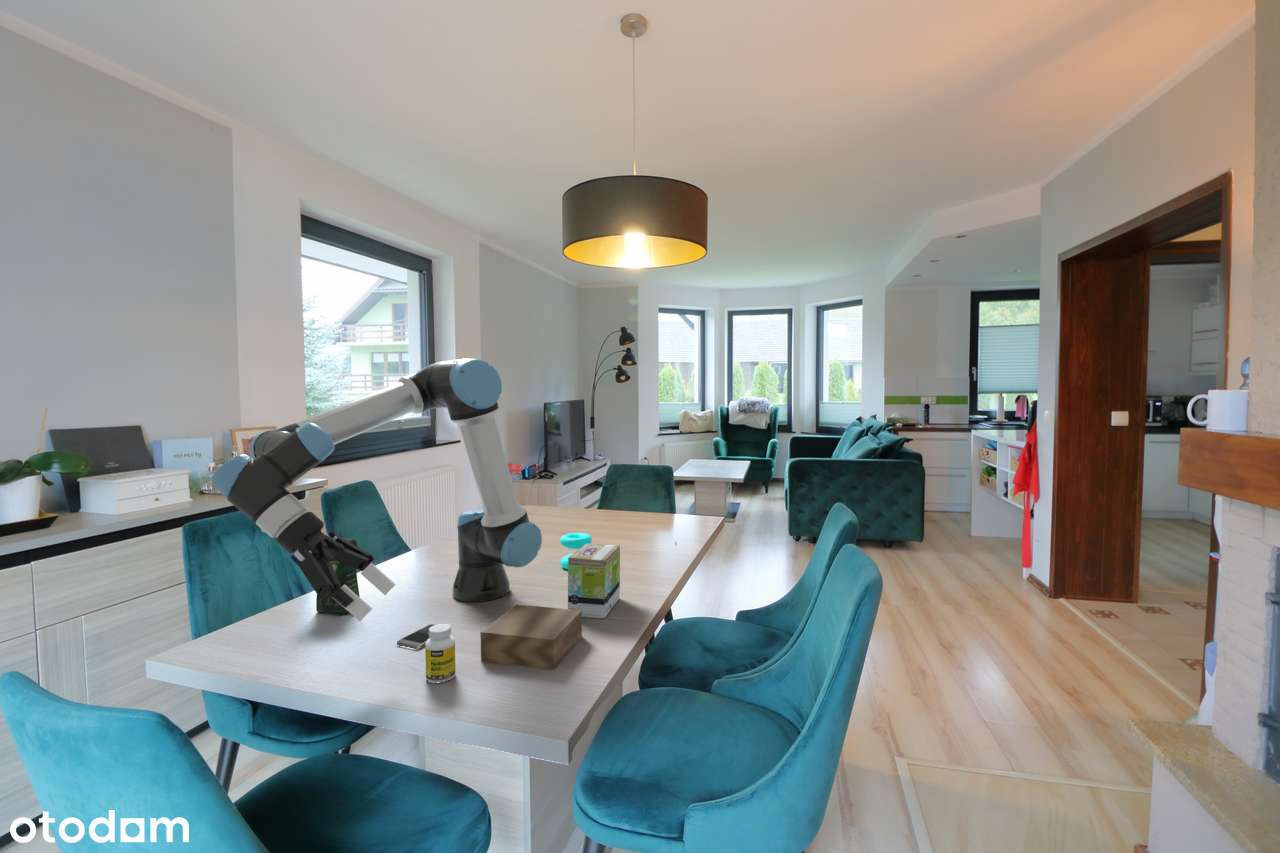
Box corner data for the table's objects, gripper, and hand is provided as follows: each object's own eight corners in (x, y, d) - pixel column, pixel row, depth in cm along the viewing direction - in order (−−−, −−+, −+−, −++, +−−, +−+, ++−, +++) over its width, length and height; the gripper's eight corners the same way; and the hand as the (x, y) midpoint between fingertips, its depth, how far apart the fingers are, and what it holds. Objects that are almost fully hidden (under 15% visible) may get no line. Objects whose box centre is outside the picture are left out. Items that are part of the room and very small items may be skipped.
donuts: (596, 533, 184) (584, 540, 175) (596, 563, 185) (585, 572, 175) (568, 531, 187) (555, 538, 178) (568, 561, 188) (555, 570, 178)
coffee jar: (365, 605, 148) (363, 535, 147) (344, 617, 140) (342, 542, 139) (332, 603, 150) (330, 533, 149) (310, 614, 142) (307, 541, 141)
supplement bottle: (427, 687, 106) (426, 635, 106) (424, 674, 111) (422, 625, 110) (457, 680, 109) (456, 629, 108) (453, 668, 113) (451, 620, 113)
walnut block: (481, 660, 116) (480, 632, 116) (516, 629, 132) (516, 604, 132) (554, 669, 113) (553, 639, 112) (581, 636, 128) (581, 610, 128)
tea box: (606, 619, 138) (605, 559, 137) (566, 616, 140) (566, 557, 139) (620, 598, 153) (620, 543, 152) (584, 595, 155) (584, 542, 154)
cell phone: (452, 633, 132) (452, 627, 132) (416, 653, 121) (416, 646, 121) (431, 629, 134) (431, 623, 134) (394, 648, 124) (394, 641, 124)
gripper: (308, 525, 117) (386, 593, 120) (237, 558, 92) (337, 644, 95) (334, 498, 118) (411, 568, 120) (271, 524, 93) (370, 611, 95)
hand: (379, 601), depth 107 cm, fingers open, 13 cm apart
